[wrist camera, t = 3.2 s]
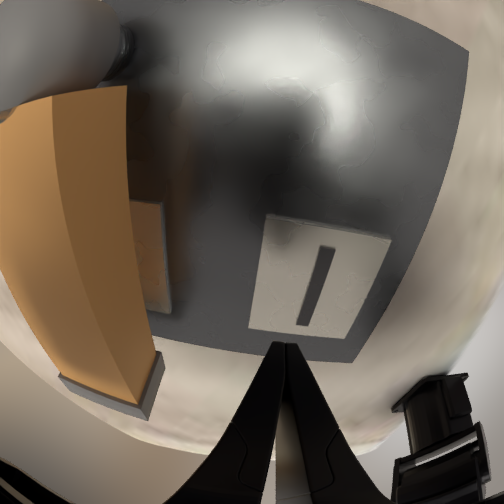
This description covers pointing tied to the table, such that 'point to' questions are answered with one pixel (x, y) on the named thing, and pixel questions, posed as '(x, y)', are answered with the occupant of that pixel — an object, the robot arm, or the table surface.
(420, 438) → the robot arm
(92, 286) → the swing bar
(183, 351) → the table surface
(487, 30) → the table surface
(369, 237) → the label panel
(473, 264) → the table surface
